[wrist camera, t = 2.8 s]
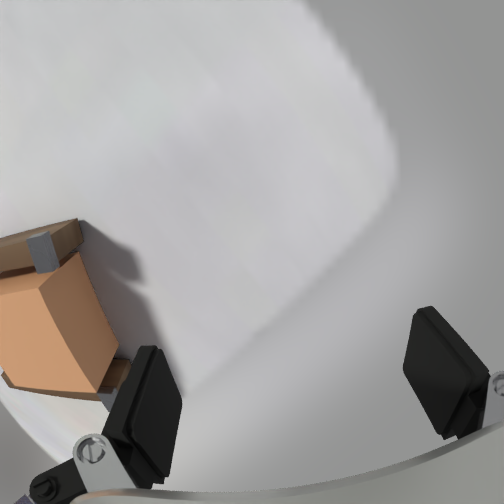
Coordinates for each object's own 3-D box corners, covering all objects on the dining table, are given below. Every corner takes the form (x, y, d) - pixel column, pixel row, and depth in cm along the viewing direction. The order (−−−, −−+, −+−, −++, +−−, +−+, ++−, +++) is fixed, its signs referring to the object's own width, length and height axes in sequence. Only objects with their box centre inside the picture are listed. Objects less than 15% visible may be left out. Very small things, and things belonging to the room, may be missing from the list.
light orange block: (2, 271, 14) (-35, 302, 10) (79, 251, 14) (38, 287, 10) (40, 348, 16) (14, 385, 12) (119, 344, 16) (96, 392, 12)
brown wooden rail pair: (-32, 245, 13) (-61, 263, 10) (76, 214, 13) (41, 235, 10) (24, 368, 17) (7, 394, 14) (136, 376, 16) (123, 412, 14)
